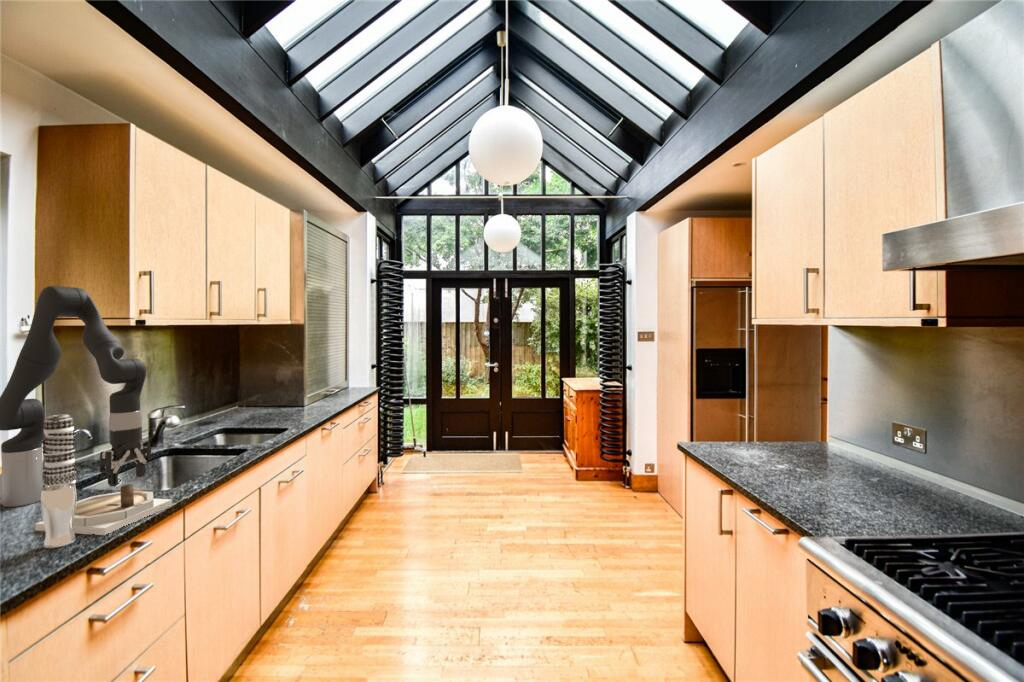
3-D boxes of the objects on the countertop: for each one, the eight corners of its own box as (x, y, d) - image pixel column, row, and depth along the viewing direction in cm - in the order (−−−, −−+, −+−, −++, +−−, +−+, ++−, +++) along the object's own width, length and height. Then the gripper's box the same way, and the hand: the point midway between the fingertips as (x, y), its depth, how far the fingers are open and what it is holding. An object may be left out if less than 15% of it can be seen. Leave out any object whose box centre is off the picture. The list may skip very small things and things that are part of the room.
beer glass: (57, 537, 129) (55, 482, 129) (84, 537, 130) (83, 482, 130) (33, 549, 122) (32, 491, 122) (63, 548, 123) (61, 490, 123)
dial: (52, 519, 136) (52, 493, 136) (110, 498, 153) (110, 474, 153) (105, 522, 134) (105, 496, 134) (158, 500, 151) (157, 477, 150)
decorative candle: (84, 480, 177) (83, 413, 176) (57, 489, 168) (55, 418, 167) (63, 479, 179) (61, 412, 178) (35, 487, 169) (33, 417, 169)
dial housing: (35, 530, 134) (35, 515, 134) (111, 502, 156) (111, 488, 156) (104, 535, 131) (104, 519, 131) (172, 505, 153) (171, 492, 153)
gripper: (136, 421, 149) (137, 473, 150) (90, 431, 135) (92, 488, 136) (157, 422, 148) (159, 474, 149) (113, 432, 134) (115, 489, 135)
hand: (127, 481), depth 142 cm, fingers open, 8 cm apart
